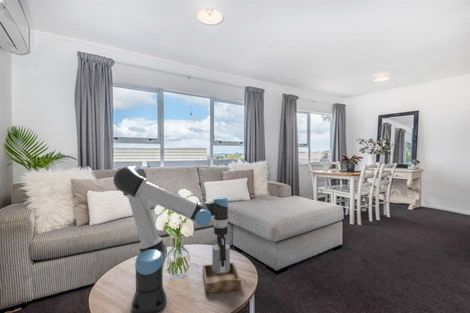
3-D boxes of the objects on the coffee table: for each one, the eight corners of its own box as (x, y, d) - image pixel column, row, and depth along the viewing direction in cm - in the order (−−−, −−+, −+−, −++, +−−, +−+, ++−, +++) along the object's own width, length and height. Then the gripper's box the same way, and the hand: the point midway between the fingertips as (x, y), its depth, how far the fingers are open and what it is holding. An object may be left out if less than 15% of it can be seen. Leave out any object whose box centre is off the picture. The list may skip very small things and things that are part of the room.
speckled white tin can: (227, 274, 121) (227, 251, 121) (209, 272, 123) (209, 249, 123) (231, 265, 131) (231, 243, 130) (215, 263, 132) (215, 242, 132)
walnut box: (205, 294, 116) (205, 283, 116) (202, 274, 134) (202, 265, 134) (240, 290, 120) (240, 279, 119) (233, 271, 138) (233, 262, 138)
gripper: (231, 232, 116) (231, 277, 117) (224, 219, 138) (224, 257, 138) (216, 233, 115) (216, 278, 115) (211, 220, 136) (211, 258, 137)
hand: (221, 267), depth 127 cm, fingers closed on speckled white tin can, 9 cm apart
